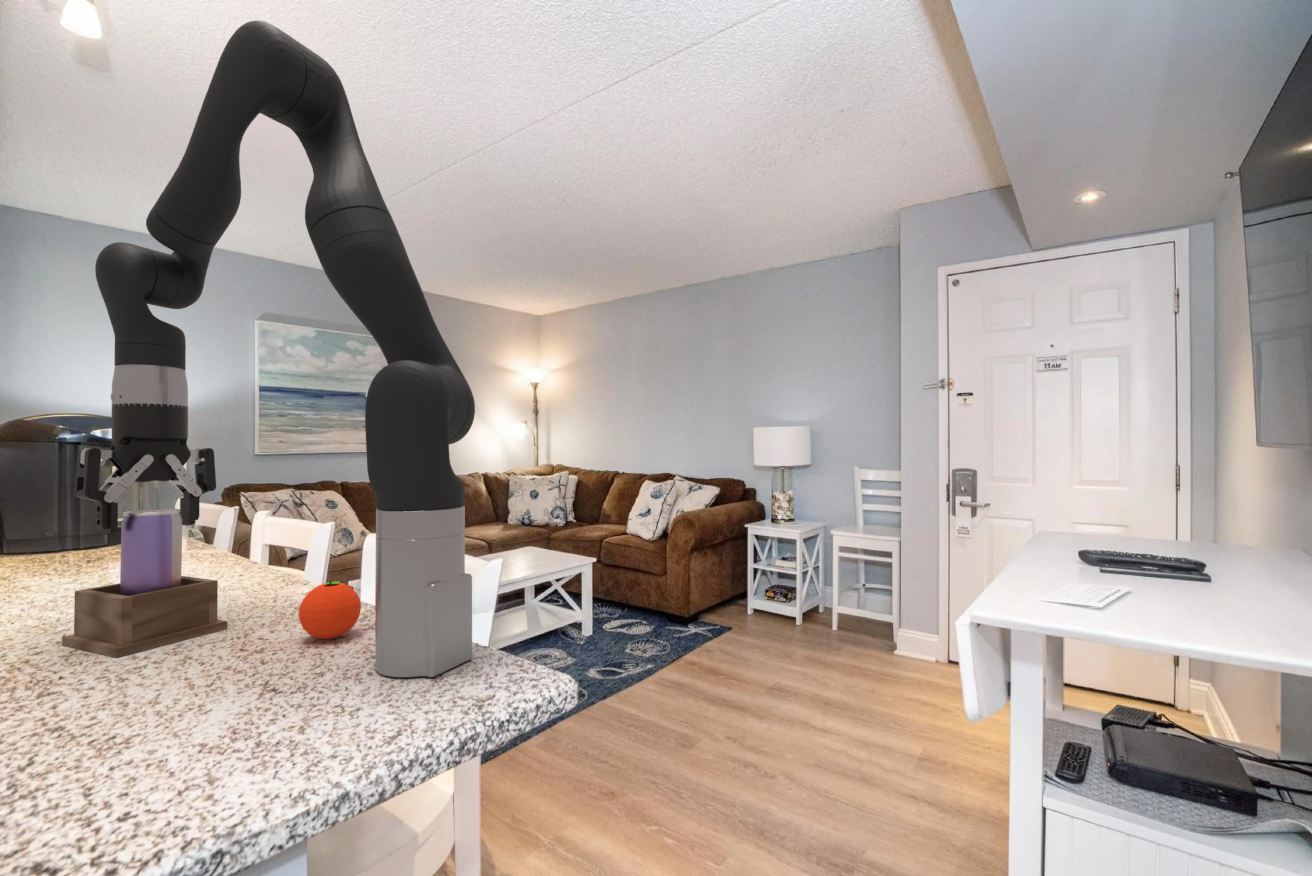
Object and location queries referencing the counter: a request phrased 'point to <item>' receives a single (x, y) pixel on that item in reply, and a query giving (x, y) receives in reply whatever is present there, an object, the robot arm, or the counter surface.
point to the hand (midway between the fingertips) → (150, 528)
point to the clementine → (329, 610)
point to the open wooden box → (143, 617)
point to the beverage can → (150, 550)
